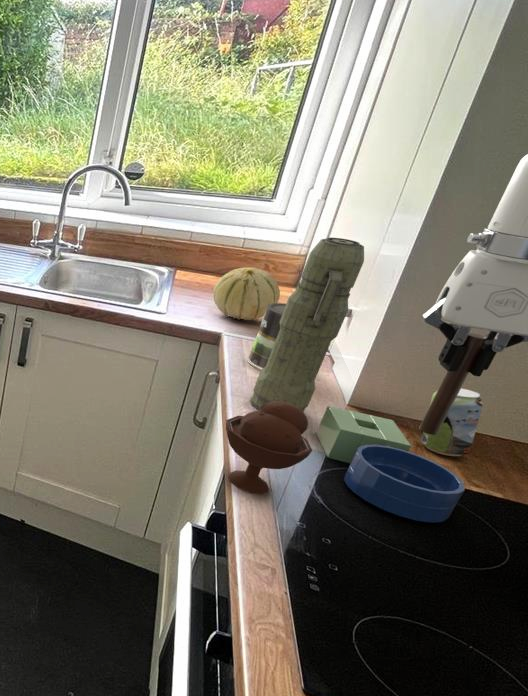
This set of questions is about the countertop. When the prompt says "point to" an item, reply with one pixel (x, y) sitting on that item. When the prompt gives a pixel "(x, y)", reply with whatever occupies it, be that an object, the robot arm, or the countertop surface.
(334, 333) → the thermos
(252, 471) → the ice cream bowl
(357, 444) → the utensil holder
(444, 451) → the beverage can
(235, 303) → the cantaloupe
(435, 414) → the stirring stick
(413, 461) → the mixing bowl
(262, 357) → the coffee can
